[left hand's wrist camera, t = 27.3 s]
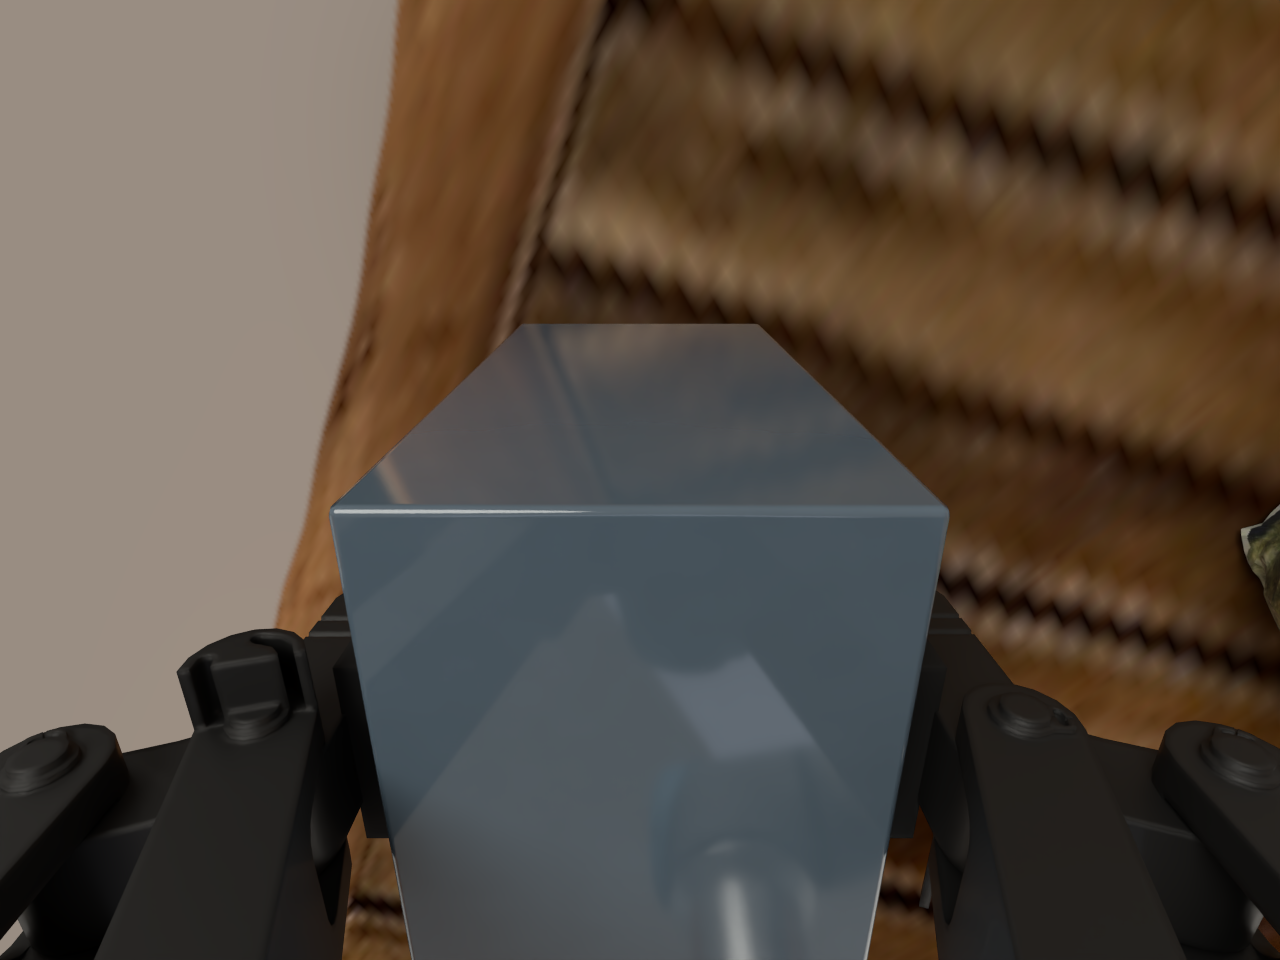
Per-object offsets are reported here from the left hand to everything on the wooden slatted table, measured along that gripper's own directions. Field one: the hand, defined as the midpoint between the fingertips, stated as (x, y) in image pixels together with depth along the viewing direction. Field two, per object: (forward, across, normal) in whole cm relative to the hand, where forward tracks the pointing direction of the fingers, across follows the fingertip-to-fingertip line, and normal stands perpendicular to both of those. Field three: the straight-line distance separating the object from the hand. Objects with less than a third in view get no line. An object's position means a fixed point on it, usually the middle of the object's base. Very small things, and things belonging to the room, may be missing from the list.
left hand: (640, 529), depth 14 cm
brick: (+3, 0, 0) cm, 3 cm away
